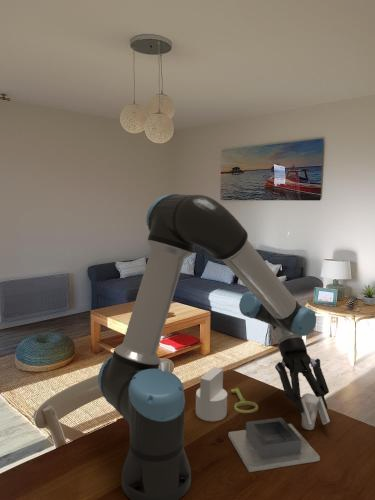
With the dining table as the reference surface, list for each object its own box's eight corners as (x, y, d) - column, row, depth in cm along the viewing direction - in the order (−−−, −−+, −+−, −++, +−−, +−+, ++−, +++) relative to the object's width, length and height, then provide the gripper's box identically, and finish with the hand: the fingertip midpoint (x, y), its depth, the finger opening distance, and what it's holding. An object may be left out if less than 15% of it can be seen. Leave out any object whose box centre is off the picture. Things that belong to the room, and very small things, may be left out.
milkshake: (312, 435, 105) (315, 399, 104) (295, 425, 109) (298, 391, 108) (322, 429, 108) (325, 394, 106) (306, 420, 112) (309, 386, 111)
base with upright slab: (218, 424, 109) (219, 383, 108) (190, 415, 114) (190, 375, 112) (231, 409, 117) (232, 371, 115) (204, 401, 121) (205, 364, 120)
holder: (249, 472, 91) (249, 453, 90) (228, 436, 104) (228, 419, 103) (319, 460, 95) (320, 442, 94) (290, 427, 108) (291, 411, 108)
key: (236, 392, 128) (237, 386, 128) (261, 411, 117) (261, 404, 117) (218, 397, 125) (218, 391, 124) (241, 417, 114) (241, 410, 114)
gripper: (311, 344, 123) (340, 424, 110) (258, 349, 119) (281, 432, 105) (322, 334, 117) (354, 416, 104) (267, 338, 113) (292, 424, 100)
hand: (317, 424), depth 105 cm, fingers closed on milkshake, 4 cm apart
